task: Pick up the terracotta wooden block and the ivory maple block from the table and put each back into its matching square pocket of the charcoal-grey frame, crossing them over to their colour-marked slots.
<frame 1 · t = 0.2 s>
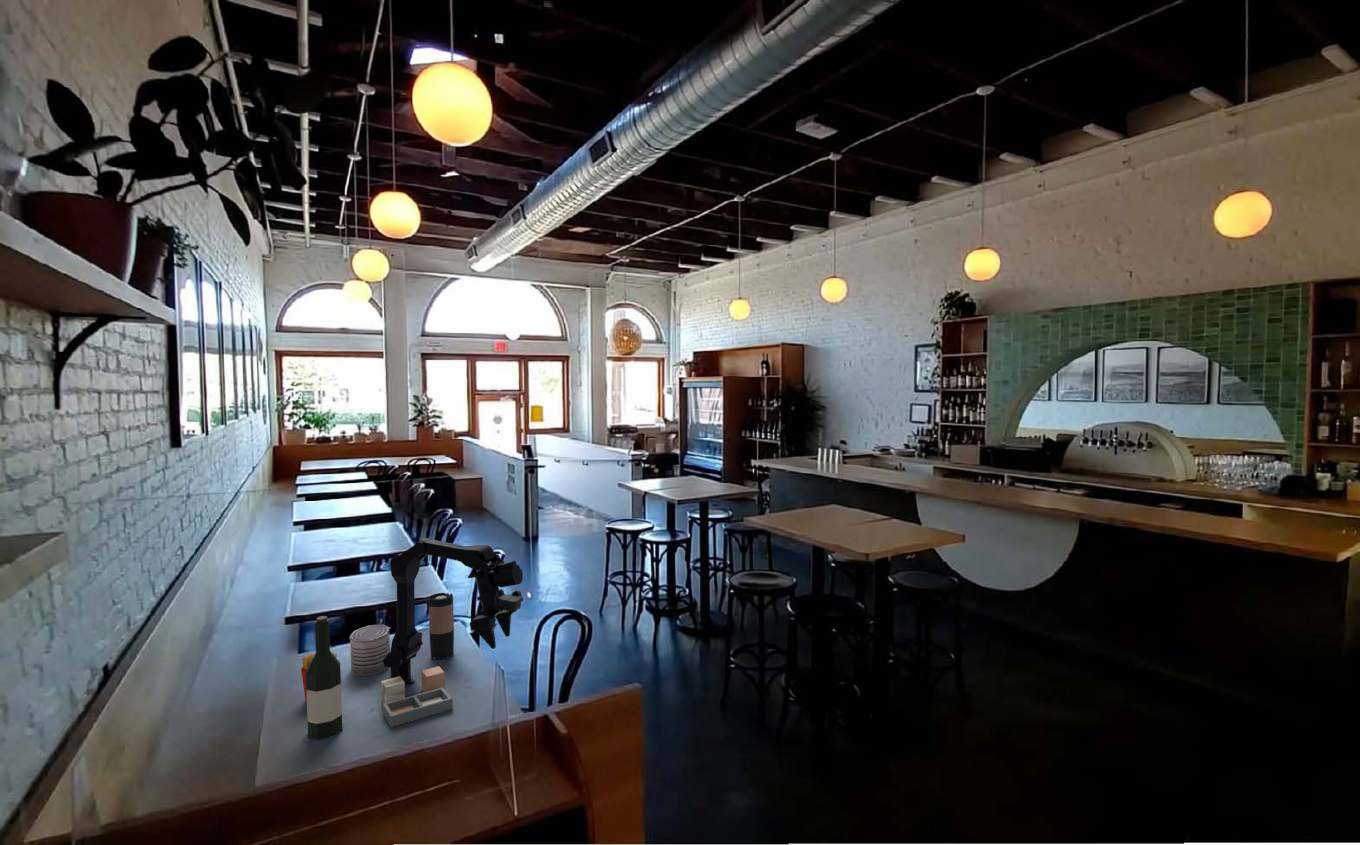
hand: (501, 642, 187), 15 cm above the table, tool pointing down, fingers open, 9 cm apart
travel mug: (442, 655, 215), on the table
ivory block: (393, 702, 183), on the table
pocket frame: (418, 711, 178), on the table
can: (371, 668, 206), on the table
french fries: (320, 699, 186), on the table
terracotta block: (433, 691, 190), on the table
wine bottle: (325, 731, 168), on the table
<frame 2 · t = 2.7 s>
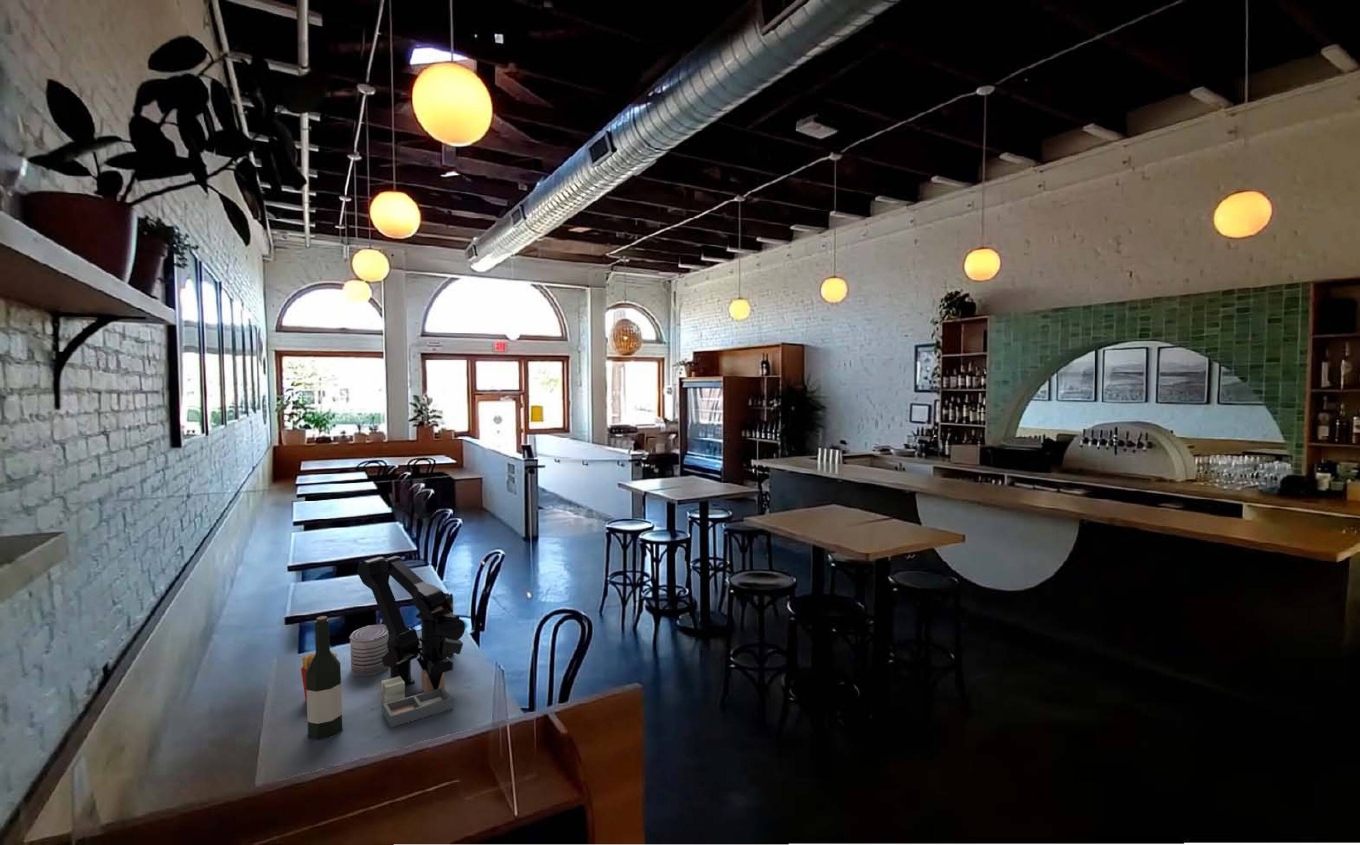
hand: (433, 685, 190), 2 cm above the table, tool pointing down, fingers closed on terracotta block, 5 cm apart
terracotta block: (433, 691, 190), on the table, touching gripper
everything else where it was.
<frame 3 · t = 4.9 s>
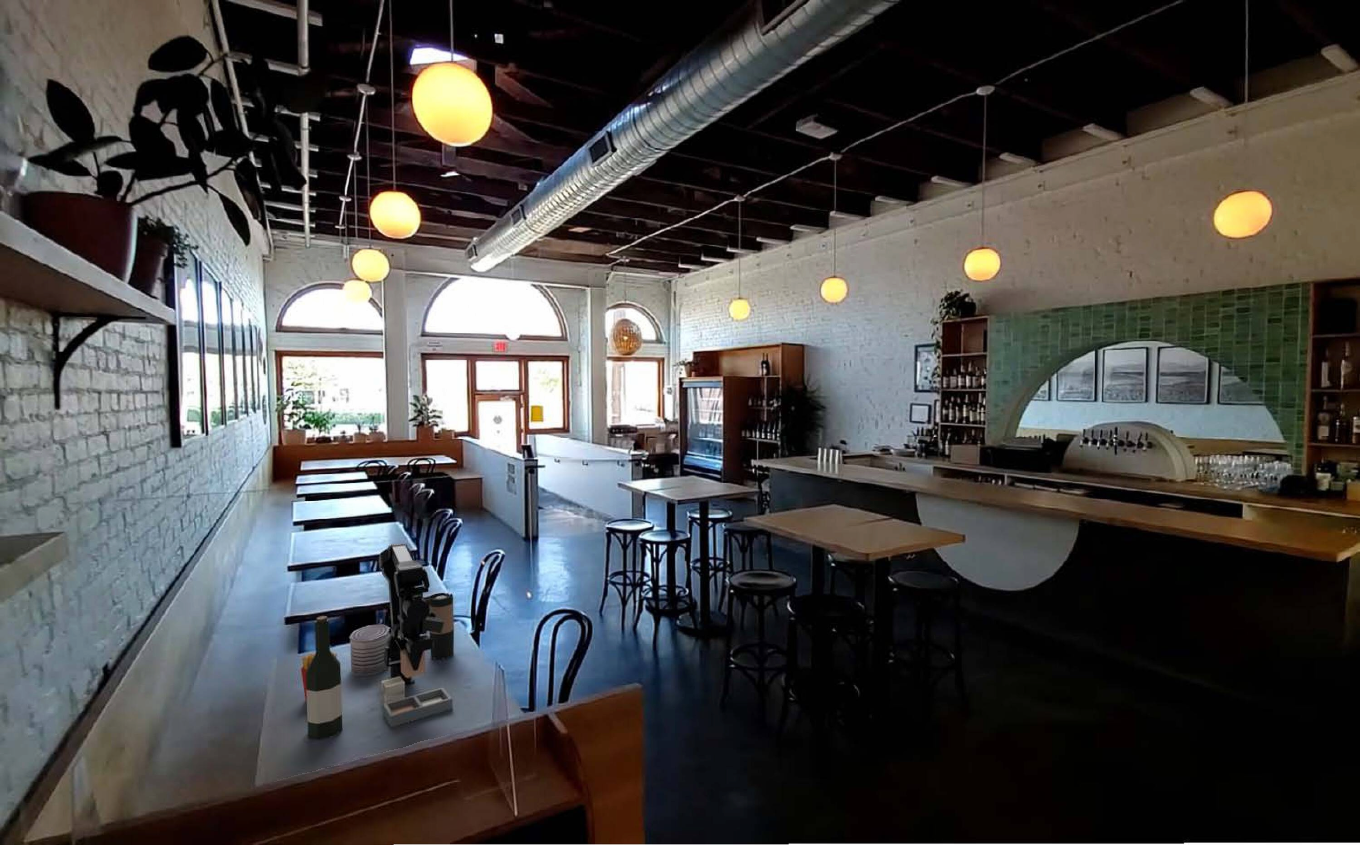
hand: (412, 667, 179), 12 cm above the table, tool pointing down, fingers closed on terracotta block, 5 cm apart
terracotta block: (413, 672, 179), point 10 cm above the table, touching gripper
everything else where it was.
when the fingers open (4 cm above the table, at t = 6.9 s): terracotta block drops 2 cm, resting on pocket frame.
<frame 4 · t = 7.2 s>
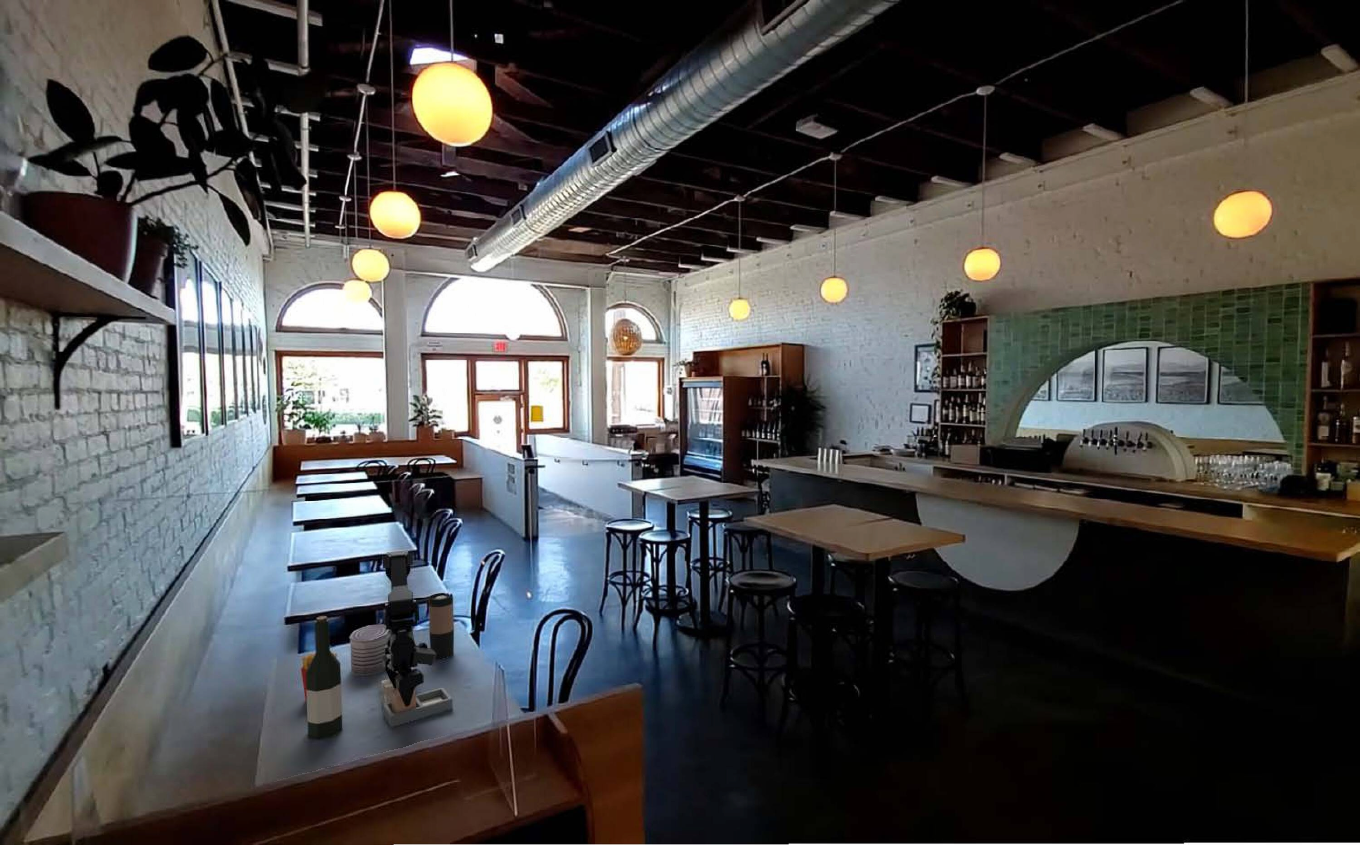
hand: (403, 700, 175), 4 cm above the table, tool pointing down, fingers open, 8 cm apart
terracotta block: (403, 712, 176), point 1 cm above the table, touching pocket frame
everything else where it was.
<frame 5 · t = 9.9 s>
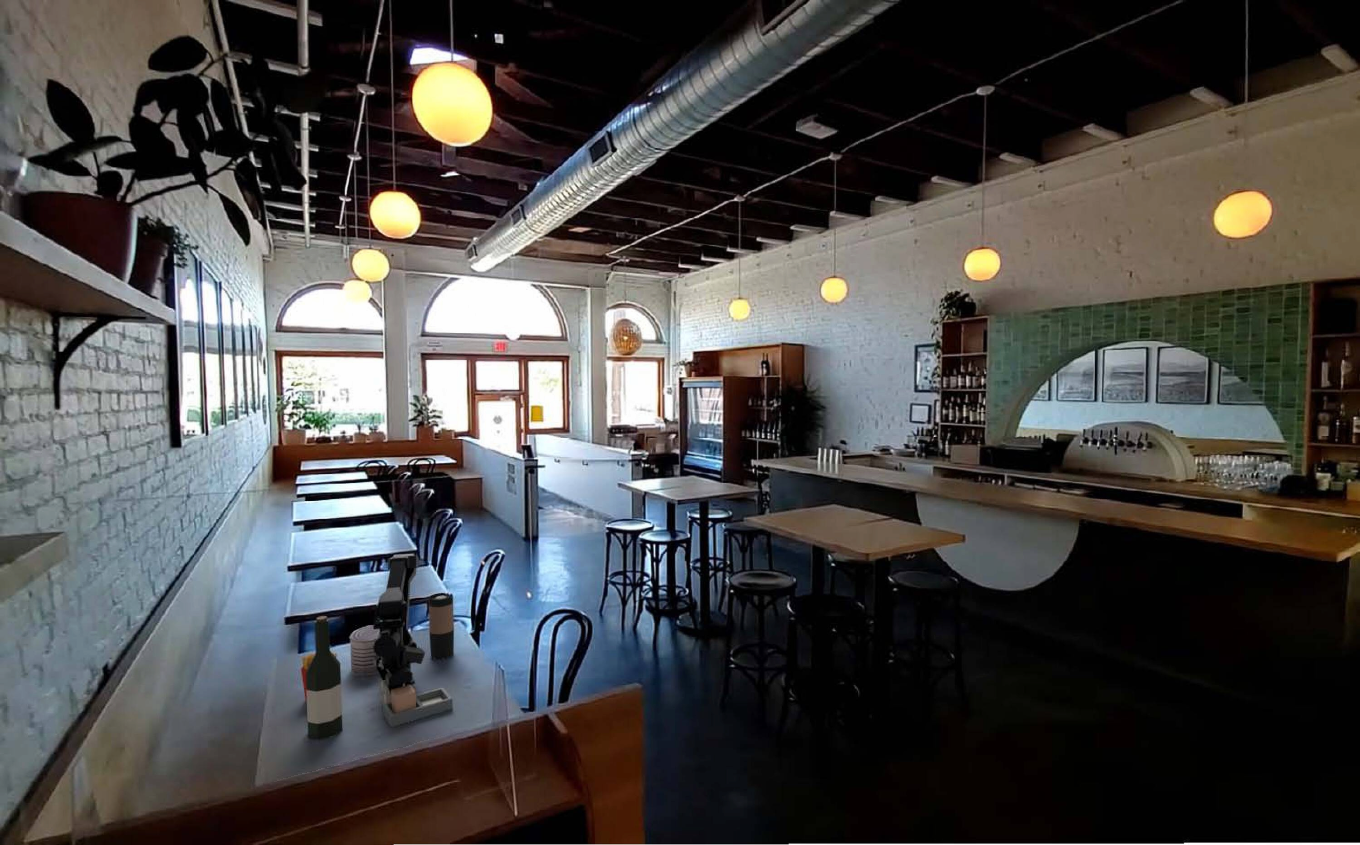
hand: (393, 696, 183), 2 cm above the table, tool pointing down, fingers open, 6 cm apart
nothing on the table moved.
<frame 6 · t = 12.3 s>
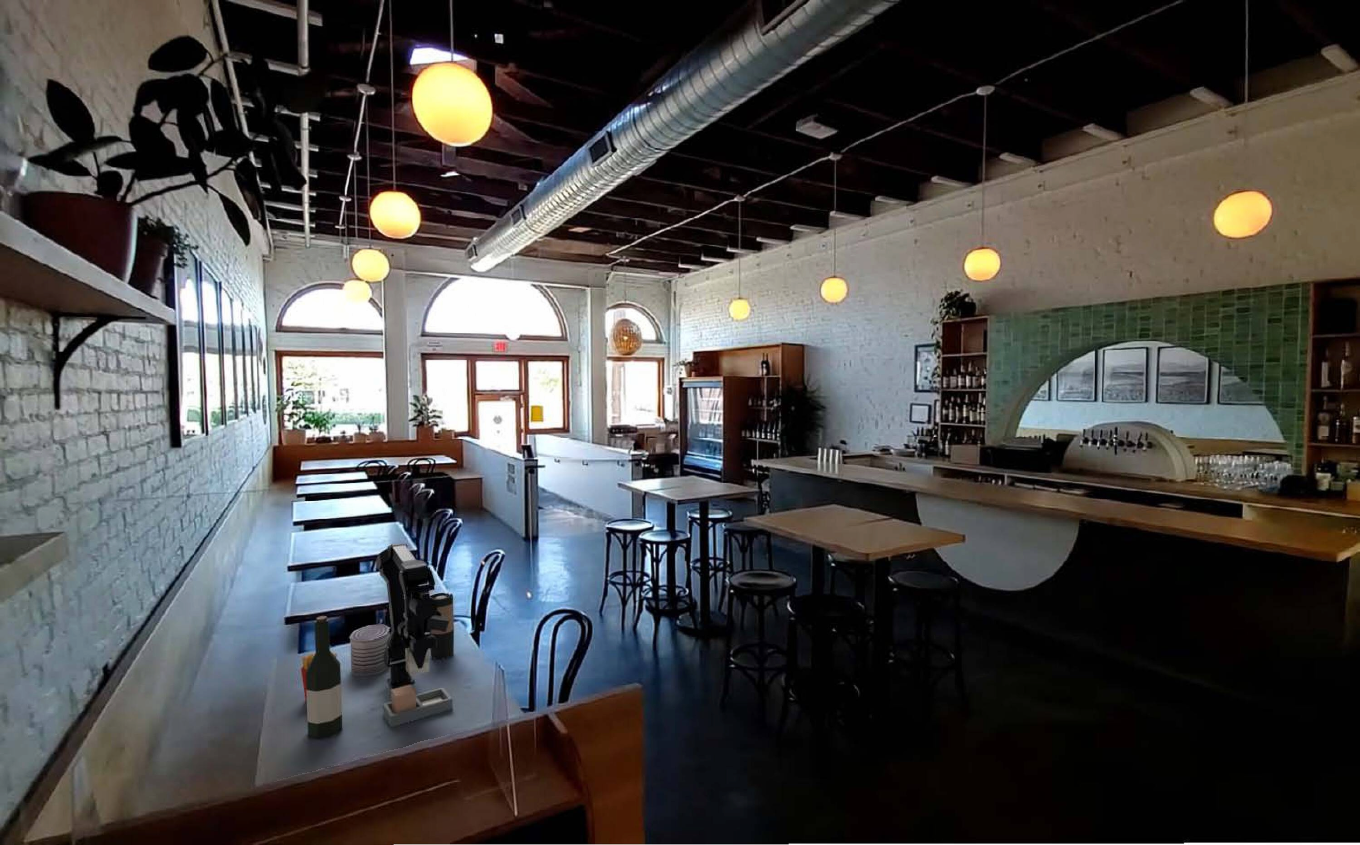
hand: (417, 665, 180), 12 cm above the table, tool pointing down, fingers closed on ivory block, 5 cm apart
ivory block: (417, 670, 180), point 10 cm above the table, touching gripper
everything else where it was.
when the fingers open (4 cm above the table, at t = 14.3 s): ivory block drops 2 cm, resting on pocket frame.
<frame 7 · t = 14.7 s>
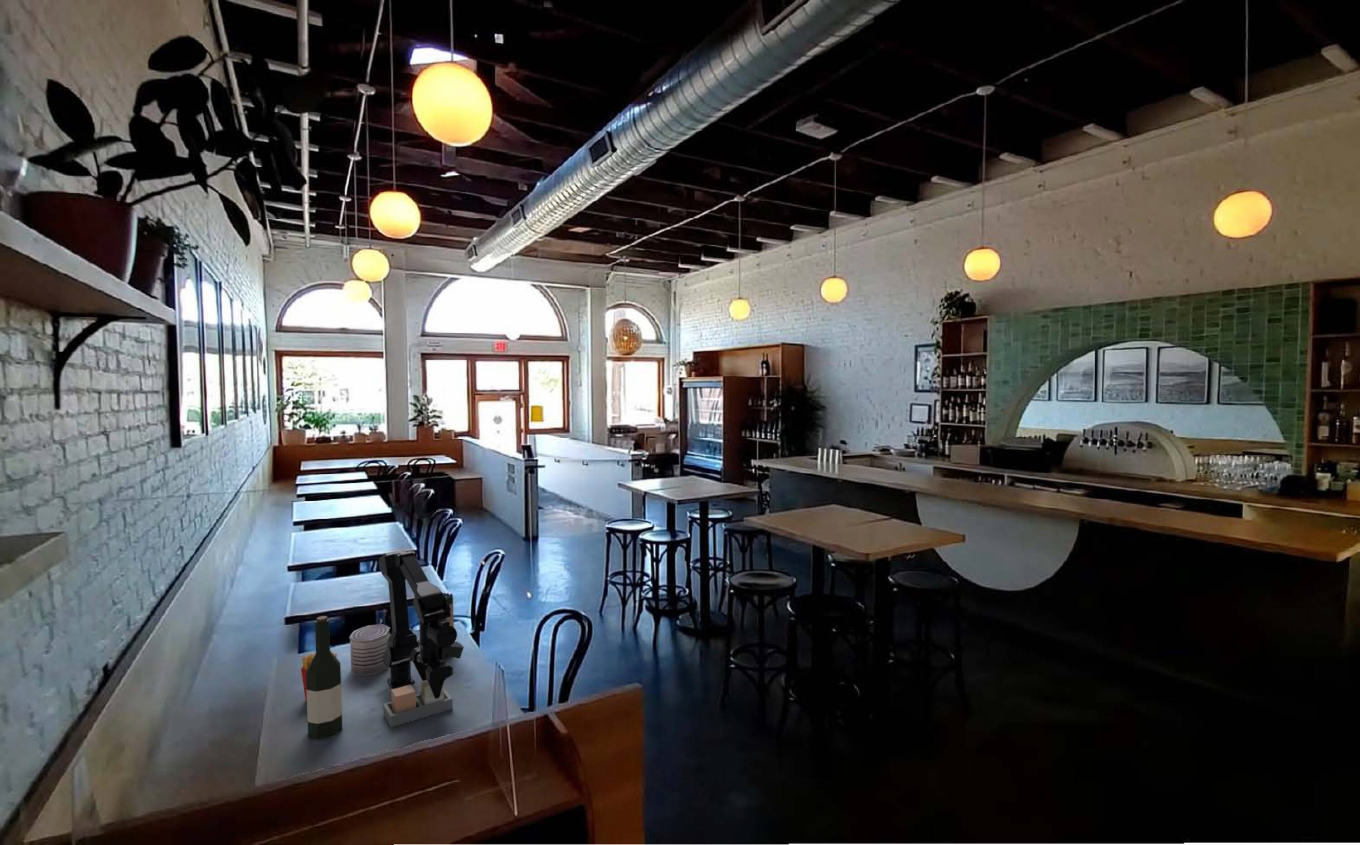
hand: (432, 692, 180), 4 cm above the table, tool pointing down, fingers open, 9 cm apart
ivory block: (432, 703, 180), point 1 cm above the table, touching pocket frame
everything else where it was.
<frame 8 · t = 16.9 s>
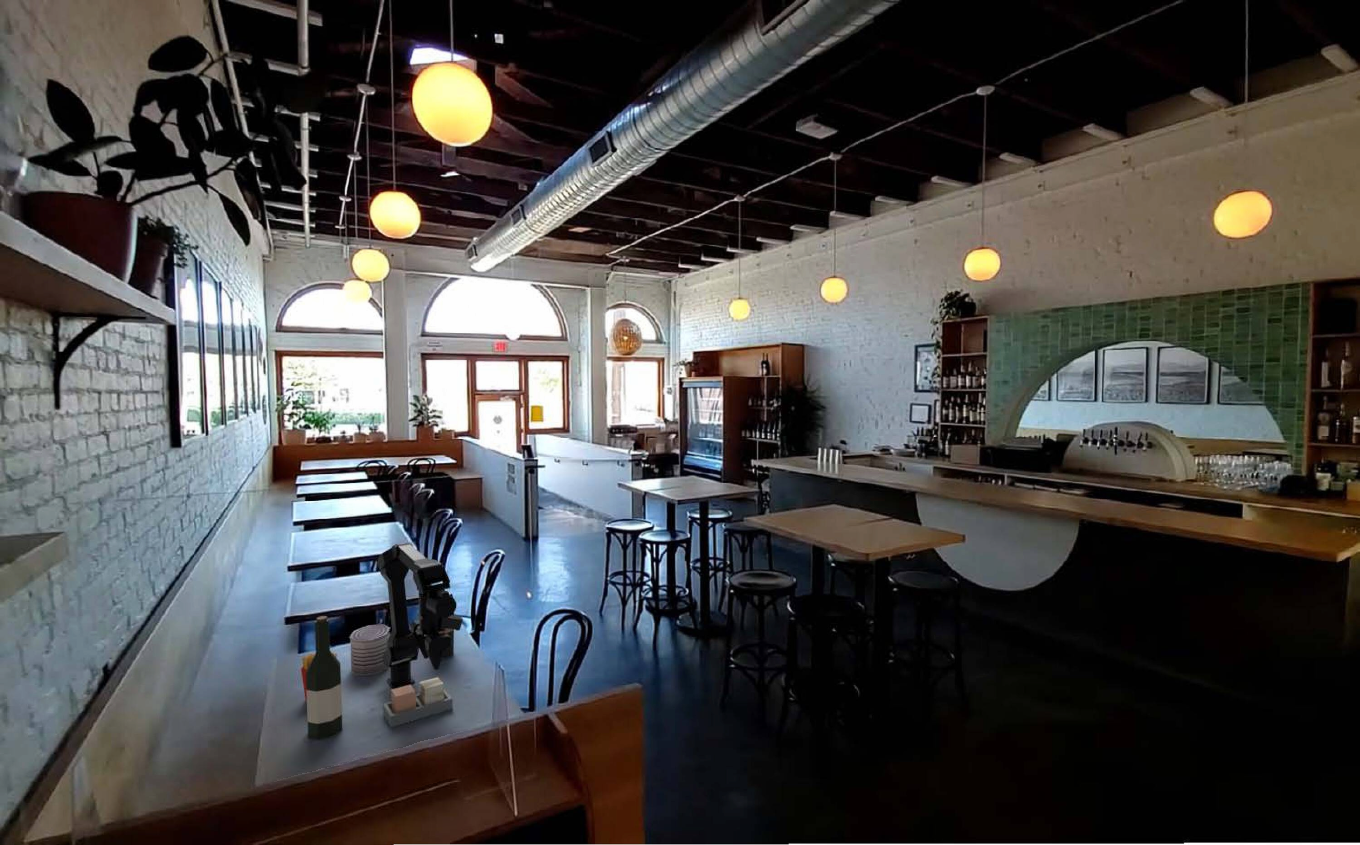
hand: (431, 663, 179), 12 cm above the table, tool pointing down, fingers open, 9 cm apart
nothing on the table moved.
at the end: terracotta block 0.1 cm from the target spot on the pocket frame, point 1.1 cm above the pocket frame's base; ivory block 0.1 cm from the target spot on the pocket frame, point 1.1 cm above the pocket frame's base; ivory block tilted 0° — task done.
